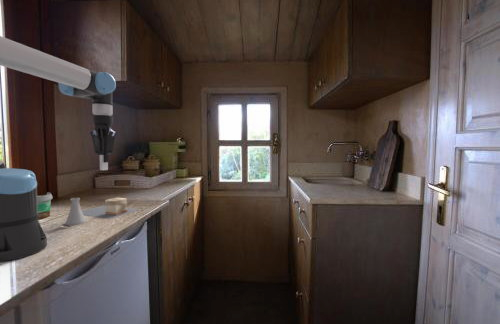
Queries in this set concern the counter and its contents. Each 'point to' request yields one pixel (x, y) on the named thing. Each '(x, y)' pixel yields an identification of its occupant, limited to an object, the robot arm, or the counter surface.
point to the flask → (75, 213)
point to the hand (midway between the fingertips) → (103, 169)
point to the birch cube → (116, 206)
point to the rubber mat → (103, 212)
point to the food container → (44, 205)
